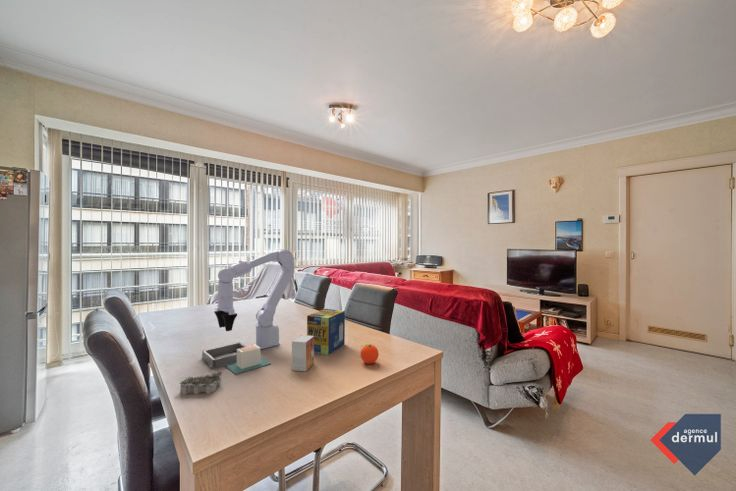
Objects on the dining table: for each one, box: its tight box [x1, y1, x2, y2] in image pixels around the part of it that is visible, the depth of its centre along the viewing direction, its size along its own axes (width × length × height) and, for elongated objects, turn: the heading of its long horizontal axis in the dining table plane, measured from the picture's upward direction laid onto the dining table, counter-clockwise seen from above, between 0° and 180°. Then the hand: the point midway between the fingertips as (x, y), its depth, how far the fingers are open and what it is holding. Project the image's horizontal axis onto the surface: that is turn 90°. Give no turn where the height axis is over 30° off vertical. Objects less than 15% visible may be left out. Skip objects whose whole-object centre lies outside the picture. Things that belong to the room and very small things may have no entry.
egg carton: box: [178, 371, 223, 395], centre depth 92 cm, size 11×8×4 cm
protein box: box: [306, 308, 346, 357], centre depth 128 cm, size 10×15×16 cm
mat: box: [225, 356, 271, 376], centre depth 110 cm, size 13×9×1 cm
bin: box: [201, 342, 248, 370], centre depth 117 cm, size 15×14×3 cm
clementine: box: [360, 343, 379, 365], centre depth 113 cm, size 8×7×7 cm
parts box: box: [236, 344, 261, 369], centre depth 110 cm, size 4×7×6 cm, turn 134°
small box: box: [291, 334, 315, 372], centre depth 109 cm, size 8×6×10 cm
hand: (225, 328), depth 124 cm, fingers open, 7 cm apart
